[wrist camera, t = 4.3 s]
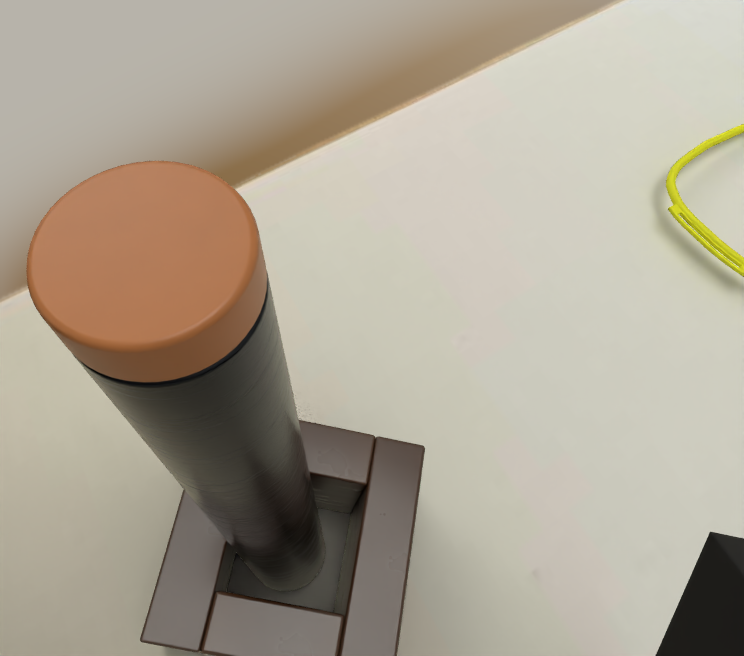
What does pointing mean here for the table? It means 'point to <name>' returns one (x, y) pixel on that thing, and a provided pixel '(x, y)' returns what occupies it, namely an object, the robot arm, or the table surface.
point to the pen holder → (358, 571)
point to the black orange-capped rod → (186, 348)
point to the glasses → (688, 215)
